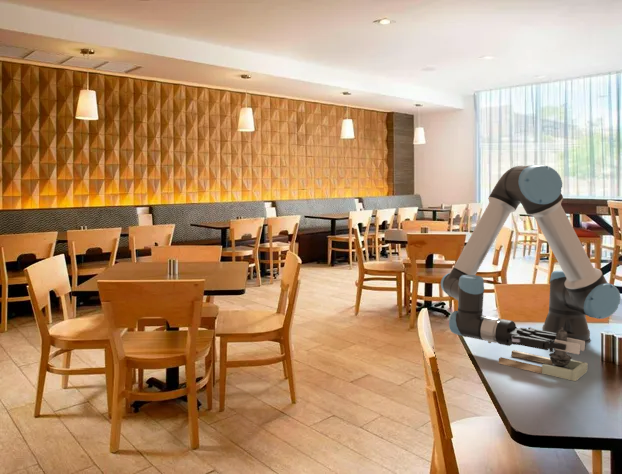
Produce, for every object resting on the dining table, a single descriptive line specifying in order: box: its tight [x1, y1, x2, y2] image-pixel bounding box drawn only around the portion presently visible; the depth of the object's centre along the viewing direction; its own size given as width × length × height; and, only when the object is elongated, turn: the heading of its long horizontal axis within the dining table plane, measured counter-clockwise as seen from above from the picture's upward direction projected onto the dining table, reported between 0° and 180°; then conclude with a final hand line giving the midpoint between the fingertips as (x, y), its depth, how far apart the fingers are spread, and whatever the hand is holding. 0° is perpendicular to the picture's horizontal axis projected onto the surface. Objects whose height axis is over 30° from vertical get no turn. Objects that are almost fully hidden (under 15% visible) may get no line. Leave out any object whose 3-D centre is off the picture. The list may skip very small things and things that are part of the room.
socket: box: [541, 359, 589, 382], centre depth 155 cm, size 9×10×2 cm
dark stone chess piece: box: [548, 327, 573, 369], centre depth 155 cm, size 6×6×12 cm
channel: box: [498, 349, 553, 375], centre depth 162 cm, size 12×11×2 cm
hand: (581, 347), depth 151 cm, fingers closed on dark stone chess piece, 4 cm apart
